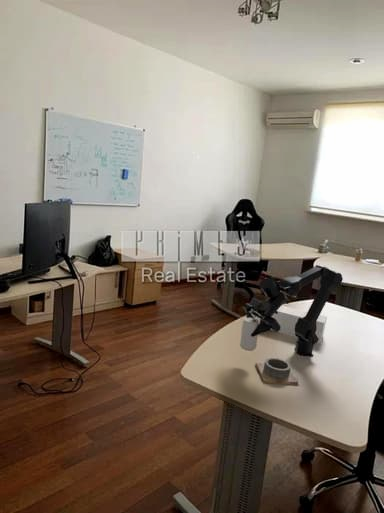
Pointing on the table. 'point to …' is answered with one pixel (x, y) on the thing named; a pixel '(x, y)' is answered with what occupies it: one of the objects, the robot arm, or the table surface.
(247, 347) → the beverage can
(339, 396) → the table surface
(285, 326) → the white foam block
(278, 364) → the can holder
